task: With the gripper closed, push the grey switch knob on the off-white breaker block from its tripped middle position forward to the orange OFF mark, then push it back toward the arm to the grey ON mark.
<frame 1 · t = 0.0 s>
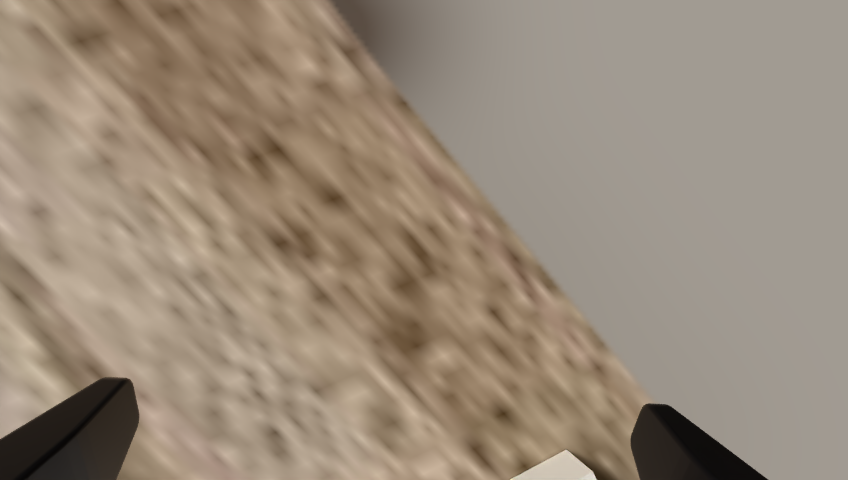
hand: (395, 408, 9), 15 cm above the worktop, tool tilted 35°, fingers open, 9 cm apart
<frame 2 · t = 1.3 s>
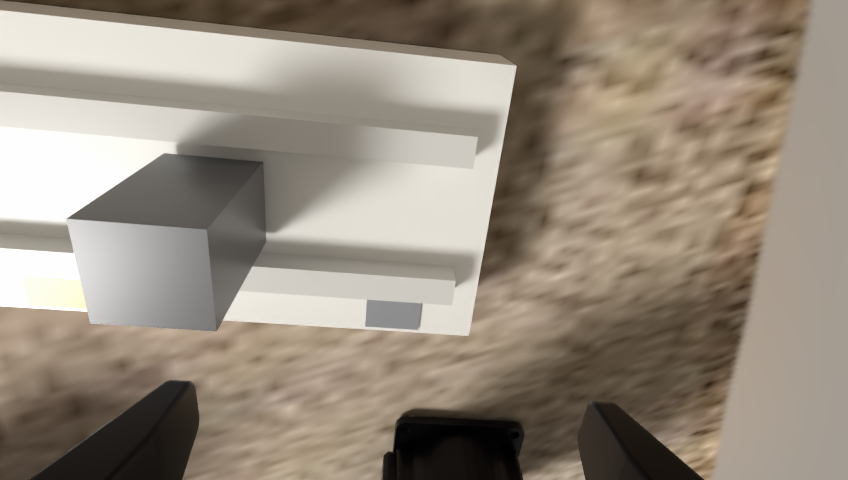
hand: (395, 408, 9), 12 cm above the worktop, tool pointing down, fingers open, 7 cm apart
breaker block: (246, 167, 19), on the worktop
switch knob: (187, 232, 14), point 6 cm above the worktop, slide at 0.0 cm
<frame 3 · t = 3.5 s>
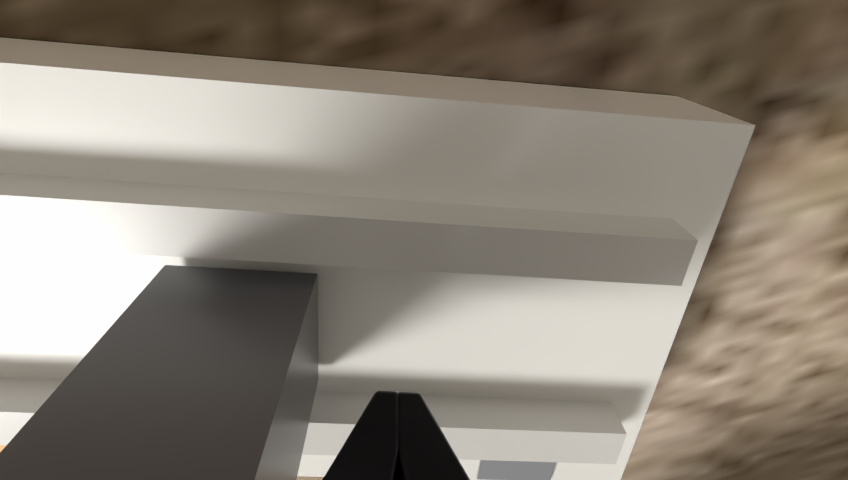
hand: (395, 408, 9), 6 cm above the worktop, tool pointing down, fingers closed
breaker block: (305, 255, 14), on the worktop
switch knob: (205, 415, 8), point 6 cm above the worktop, slide at 0.7 cm, touching gripper
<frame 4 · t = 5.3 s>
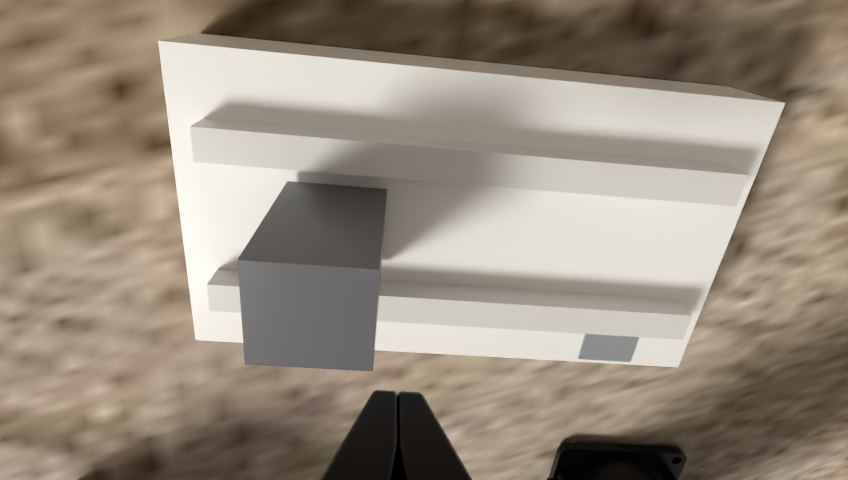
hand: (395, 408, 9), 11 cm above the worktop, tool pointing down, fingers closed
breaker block: (455, 198, 19), on the worktop
switch knob: (325, 265, 13), point 6 cm above the worktop, slide at 4.1 cm
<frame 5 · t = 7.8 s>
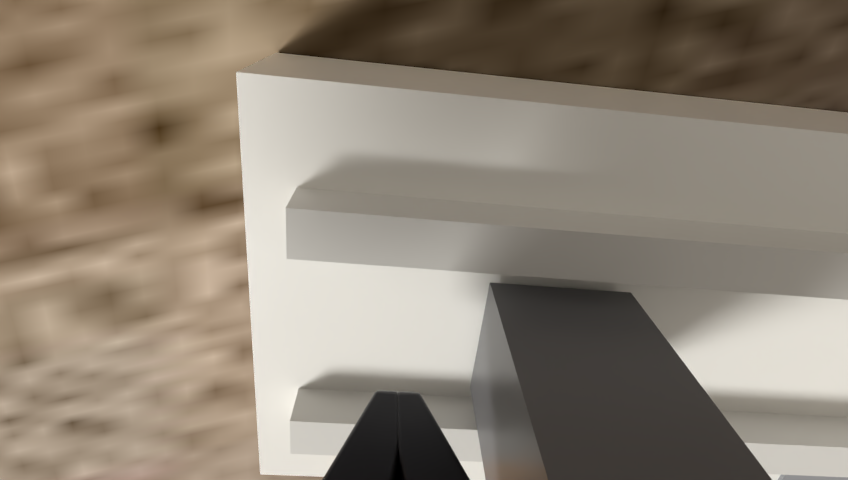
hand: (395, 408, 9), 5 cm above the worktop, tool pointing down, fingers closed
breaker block: (605, 273, 14), on the worktop
switch knob: (583, 432, 9), point 6 cm above the worktop, slide at 2.6 cm, touching gripper
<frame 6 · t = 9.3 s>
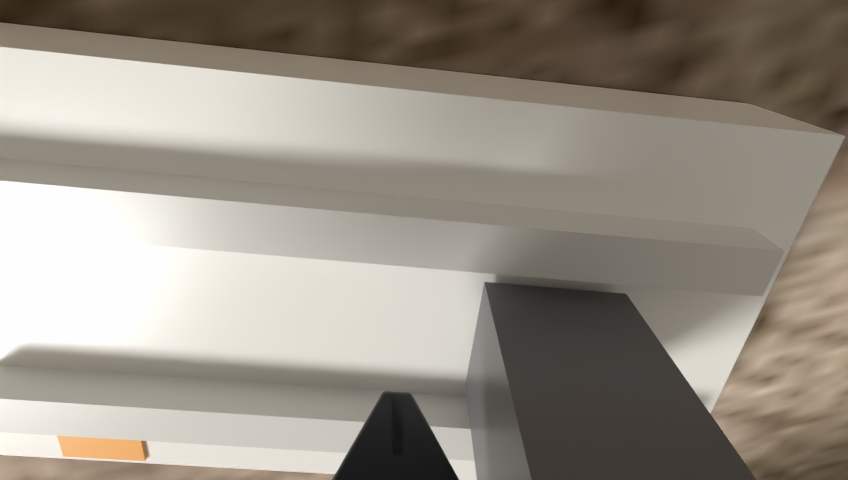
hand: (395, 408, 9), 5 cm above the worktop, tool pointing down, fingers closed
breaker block: (362, 254, 14), on the worktop
switch knob: (574, 432, 9), point 6 cm above the worktop, slide at -4.2 cm, touching gripper
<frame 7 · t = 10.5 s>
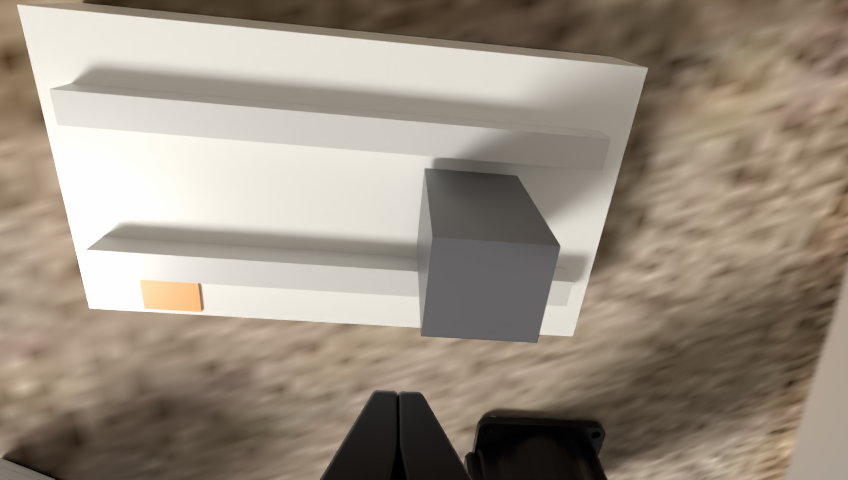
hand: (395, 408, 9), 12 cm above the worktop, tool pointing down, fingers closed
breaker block: (351, 170, 19), on the worktop
switch knob: (474, 246, 14), point 6 cm above the worktop, slide at -4.1 cm
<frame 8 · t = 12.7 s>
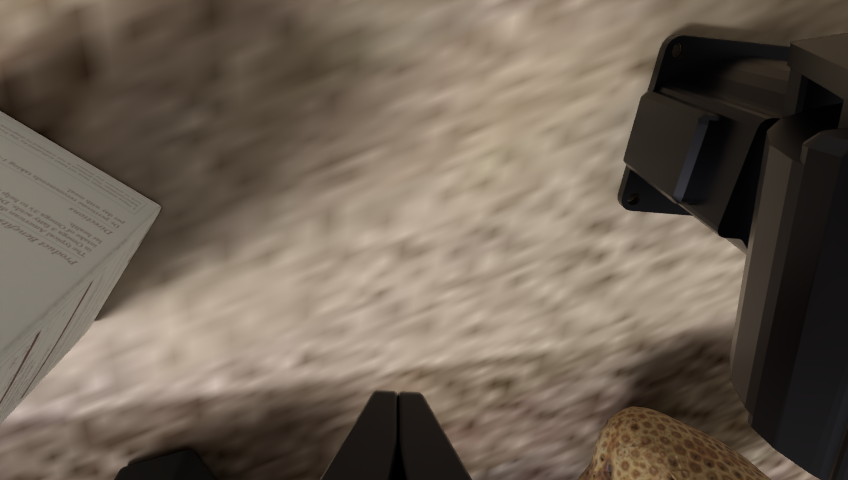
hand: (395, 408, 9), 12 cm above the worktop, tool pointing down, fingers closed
supplement box: (45, 220, 20), on the worktop
tan rounded lump: (624, 430, 26), on the worktop
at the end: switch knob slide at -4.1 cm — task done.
